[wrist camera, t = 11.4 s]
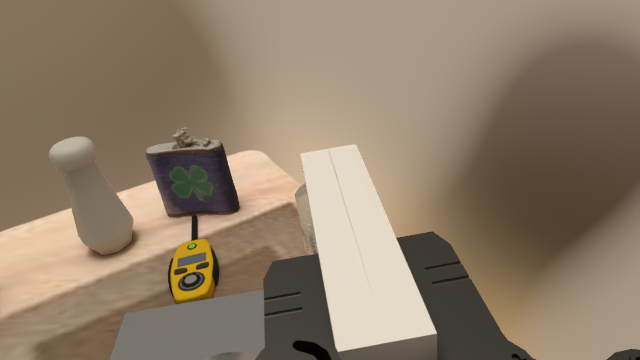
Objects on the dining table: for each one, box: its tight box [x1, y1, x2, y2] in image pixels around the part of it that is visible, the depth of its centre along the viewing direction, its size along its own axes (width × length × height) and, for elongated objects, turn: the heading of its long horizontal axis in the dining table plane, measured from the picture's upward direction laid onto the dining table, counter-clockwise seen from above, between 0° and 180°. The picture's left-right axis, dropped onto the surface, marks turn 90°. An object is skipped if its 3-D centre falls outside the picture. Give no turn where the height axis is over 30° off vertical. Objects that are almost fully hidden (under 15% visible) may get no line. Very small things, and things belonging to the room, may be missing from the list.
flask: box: [146, 128, 240, 217], centre depth 55 cm, size 9×3×11 cm, turn 84°
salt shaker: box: [49, 137, 133, 255], centre depth 51 cm, size 6×6×13 cm
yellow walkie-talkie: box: [168, 215, 219, 304], centre depth 50 cm, size 5×2×15 cm
